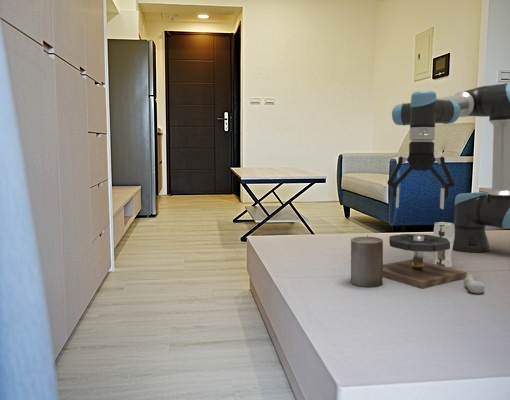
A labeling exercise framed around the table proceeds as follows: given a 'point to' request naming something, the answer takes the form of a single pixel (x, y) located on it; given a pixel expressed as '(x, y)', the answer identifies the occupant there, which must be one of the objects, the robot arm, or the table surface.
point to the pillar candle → (366, 261)
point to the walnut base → (421, 274)
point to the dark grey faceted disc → (419, 243)
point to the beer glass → (448, 232)
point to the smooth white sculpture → (473, 284)
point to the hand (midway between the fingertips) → (419, 208)
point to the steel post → (418, 256)
